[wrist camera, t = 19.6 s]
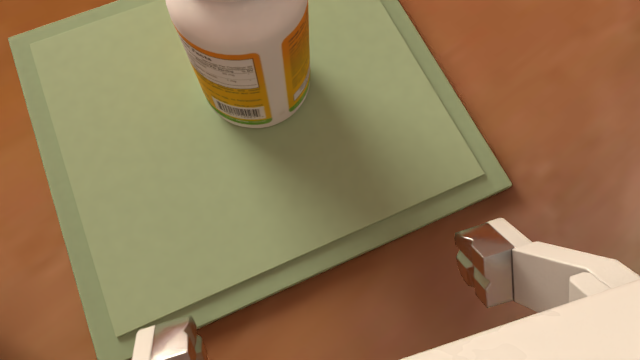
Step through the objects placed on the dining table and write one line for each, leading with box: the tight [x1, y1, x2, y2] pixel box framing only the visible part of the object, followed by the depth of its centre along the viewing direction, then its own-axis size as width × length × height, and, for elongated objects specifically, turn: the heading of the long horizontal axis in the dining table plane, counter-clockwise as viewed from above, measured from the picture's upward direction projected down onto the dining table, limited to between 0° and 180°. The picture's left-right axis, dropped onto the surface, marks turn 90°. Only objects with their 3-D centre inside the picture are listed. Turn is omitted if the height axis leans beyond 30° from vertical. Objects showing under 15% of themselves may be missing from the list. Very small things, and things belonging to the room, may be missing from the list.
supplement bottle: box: [165, 0, 310, 128], centre depth 20 cm, size 5×5×10 cm
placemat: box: [8, 0, 512, 360], centre depth 25 cm, size 20×18×1 cm
